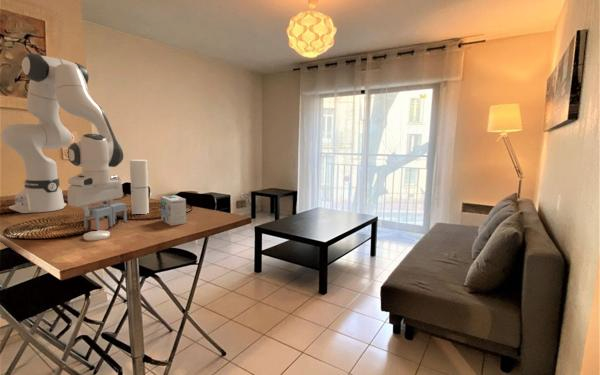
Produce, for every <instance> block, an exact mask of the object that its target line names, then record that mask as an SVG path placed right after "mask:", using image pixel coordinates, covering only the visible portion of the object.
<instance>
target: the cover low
mask: <svg viewBox="0 0 600 375" xmlns="http://www.w3.org/2000/svg"><path fill="white" fill-rule="evenodd" d="M87 208H88V209H89V211H92V215H91V216H85V211H84V210H83V222H84V225H83V226H84V229H88V228H89V222H88V221H89V218H94V219H95V221H96V230H99V218H101V217H103V216H107V215H109V220H108V227H113V221H112V207H106V206H101V204H100V205H94V206H91V207H90V206H89V207H87Z"/></svg>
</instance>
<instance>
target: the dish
mask: <svg viewBox="0 0 600 375" xmlns="http://www.w3.org/2000/svg"><path fill="white" fill-rule="evenodd" d="M110 236H111V232H110V231H109V230H103V231H93V230H91V231H89V232H86V233H84V234H83V235H82V237H83V240H84V241H87V242H88V241H90V242H91V241H102V240H105V239H108V238H111V237H110Z"/></svg>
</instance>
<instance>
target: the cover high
mask: <svg viewBox="0 0 600 375" xmlns="http://www.w3.org/2000/svg"><path fill="white" fill-rule="evenodd" d="M100 206H106V204H103V203H102V204H100ZM111 207H112V221H113V224H114V225H116V220H117V213H120V212H122V214H123V222H127V221H128V217H127V203H123V202H116V201H113V203H112V205H111ZM101 218H104V216H103V217H101Z"/></svg>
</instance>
